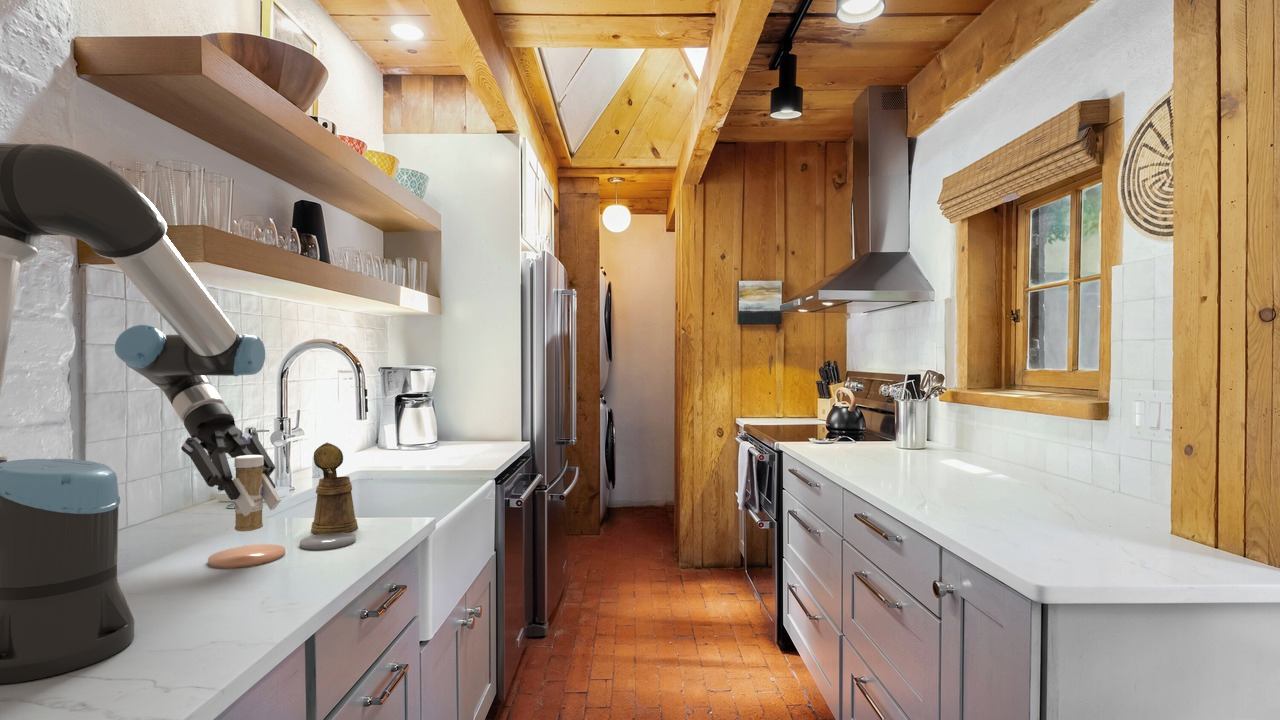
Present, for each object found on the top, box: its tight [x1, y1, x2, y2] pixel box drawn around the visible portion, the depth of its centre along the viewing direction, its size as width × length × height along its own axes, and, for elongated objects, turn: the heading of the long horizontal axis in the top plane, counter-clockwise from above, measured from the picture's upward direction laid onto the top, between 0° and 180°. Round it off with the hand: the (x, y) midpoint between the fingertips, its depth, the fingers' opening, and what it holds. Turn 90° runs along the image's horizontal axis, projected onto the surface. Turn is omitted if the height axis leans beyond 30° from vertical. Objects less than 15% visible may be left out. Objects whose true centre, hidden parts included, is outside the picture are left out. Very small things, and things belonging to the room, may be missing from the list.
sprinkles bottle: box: [234, 455, 264, 532], centre depth 116 cm, size 5×5×14 cm
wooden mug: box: [310, 442, 359, 535], centre depth 138 cm, size 9×14×18 cm, turn 37°
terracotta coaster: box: [207, 543, 286, 569], centre depth 116 cm, size 12×12×1 cm
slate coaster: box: [299, 532, 357, 551], centre depth 126 cm, size 10×10×1 cm
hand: (262, 507), depth 115 cm, fingers closed on sprinkles bottle, 4 cm apart
